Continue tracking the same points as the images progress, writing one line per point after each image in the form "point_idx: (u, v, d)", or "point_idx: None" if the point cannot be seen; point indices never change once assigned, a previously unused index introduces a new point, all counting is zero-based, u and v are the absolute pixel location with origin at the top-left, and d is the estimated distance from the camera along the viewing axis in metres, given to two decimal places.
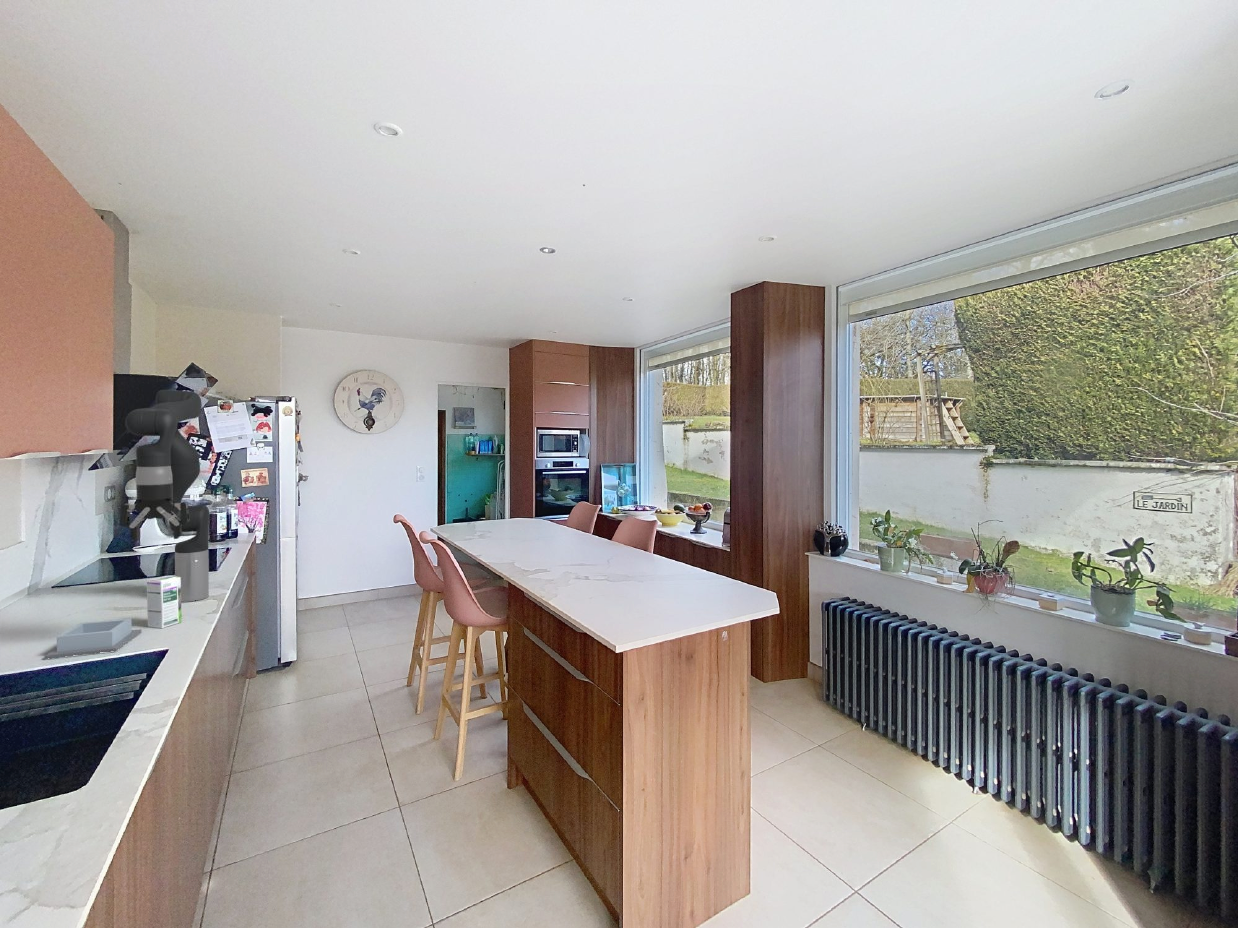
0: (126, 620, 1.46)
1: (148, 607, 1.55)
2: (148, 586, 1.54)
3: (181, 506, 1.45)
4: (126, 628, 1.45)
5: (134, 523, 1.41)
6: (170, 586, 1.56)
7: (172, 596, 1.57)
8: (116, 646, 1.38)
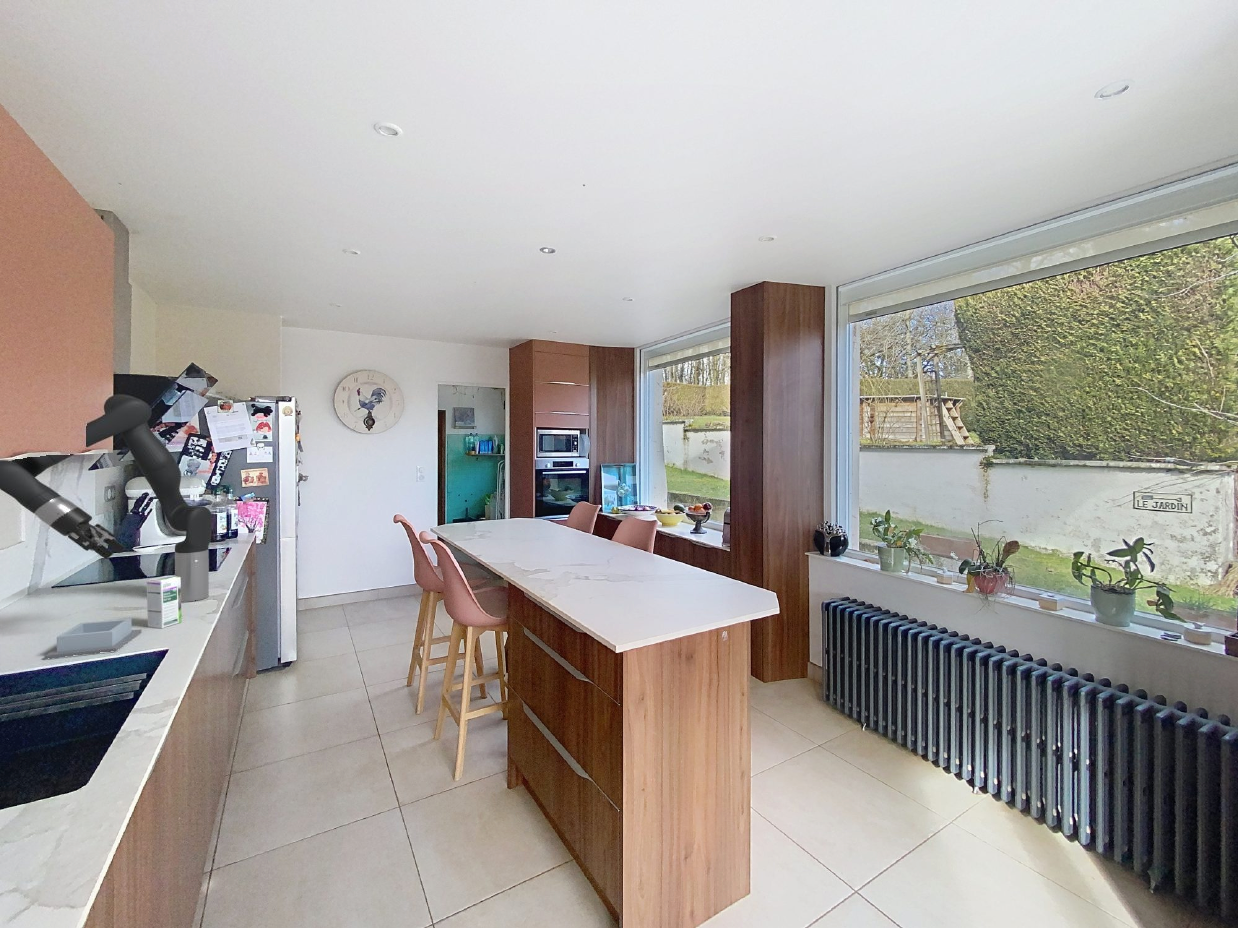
0: (126, 620, 1.46)
1: (148, 607, 1.55)
2: (148, 586, 1.54)
3: None
4: (126, 628, 1.45)
5: None
6: (170, 586, 1.56)
7: (172, 596, 1.57)
8: (116, 646, 1.38)
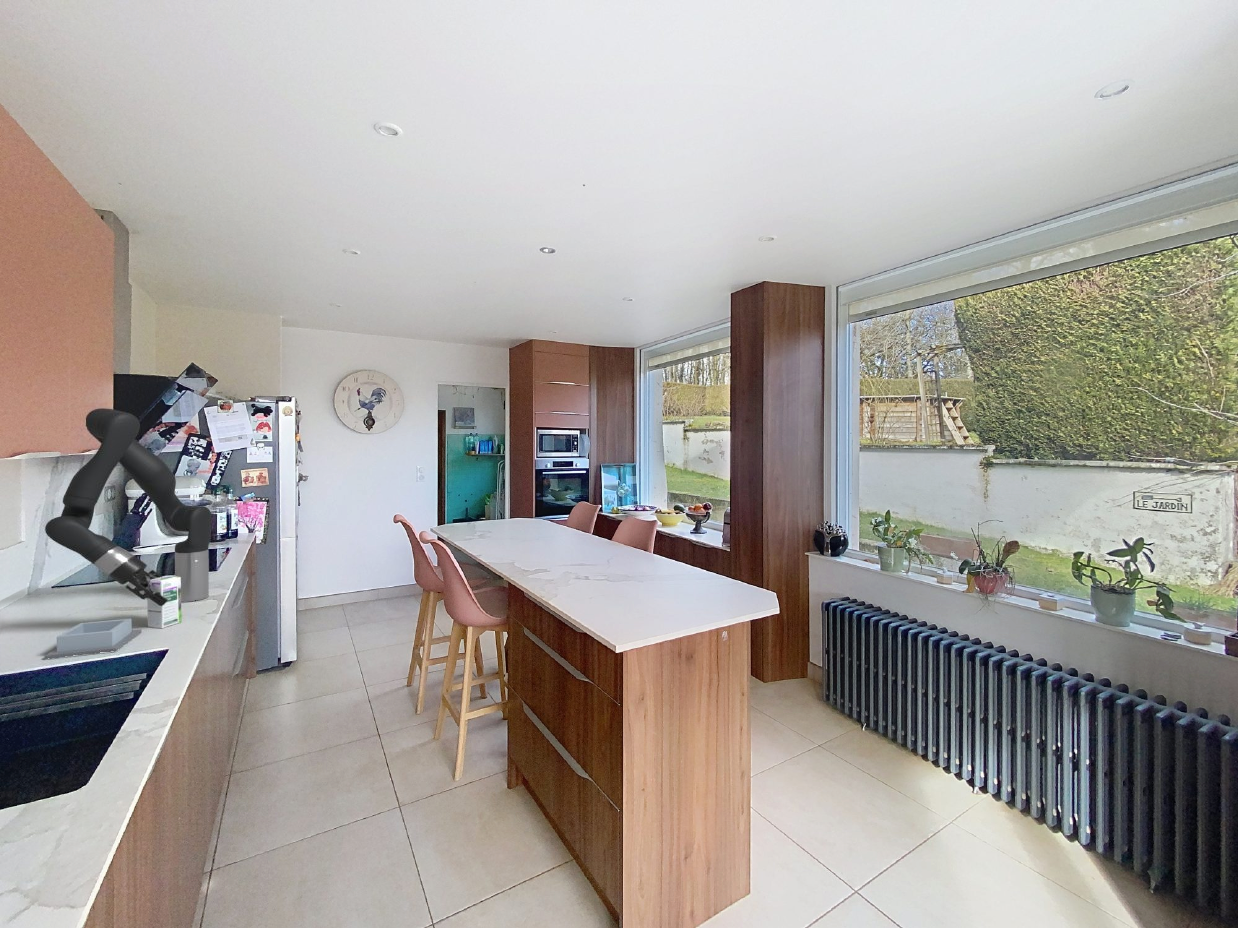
0: (126, 620, 1.46)
1: (148, 607, 1.55)
2: None
3: None
4: (126, 628, 1.45)
5: None
6: (171, 586, 1.56)
7: (172, 596, 1.57)
8: (116, 646, 1.38)
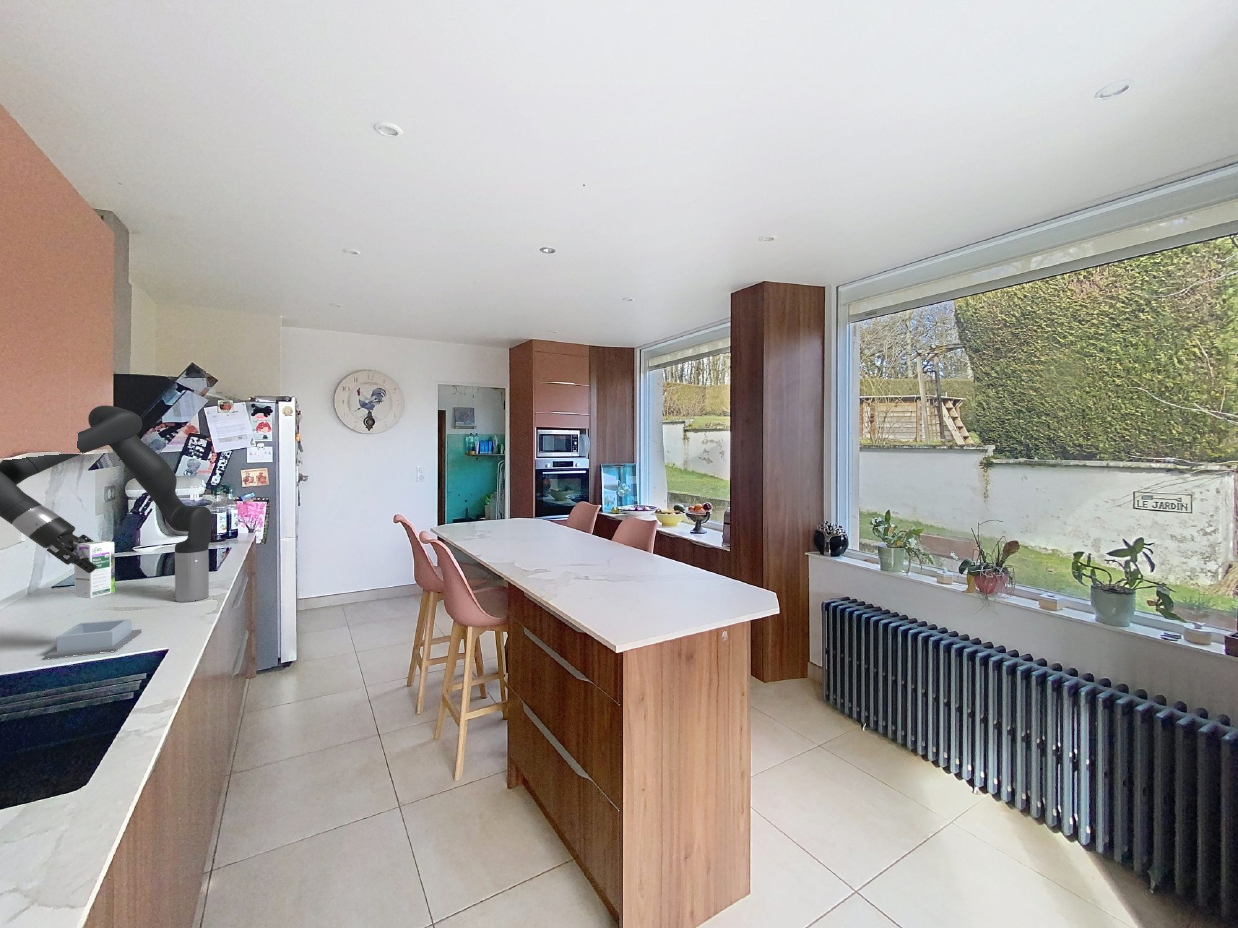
0: (126, 620, 1.46)
1: (75, 574, 1.38)
2: None
3: None
4: (126, 628, 1.45)
5: None
6: (102, 551, 1.39)
7: (104, 563, 1.40)
8: (116, 646, 1.38)
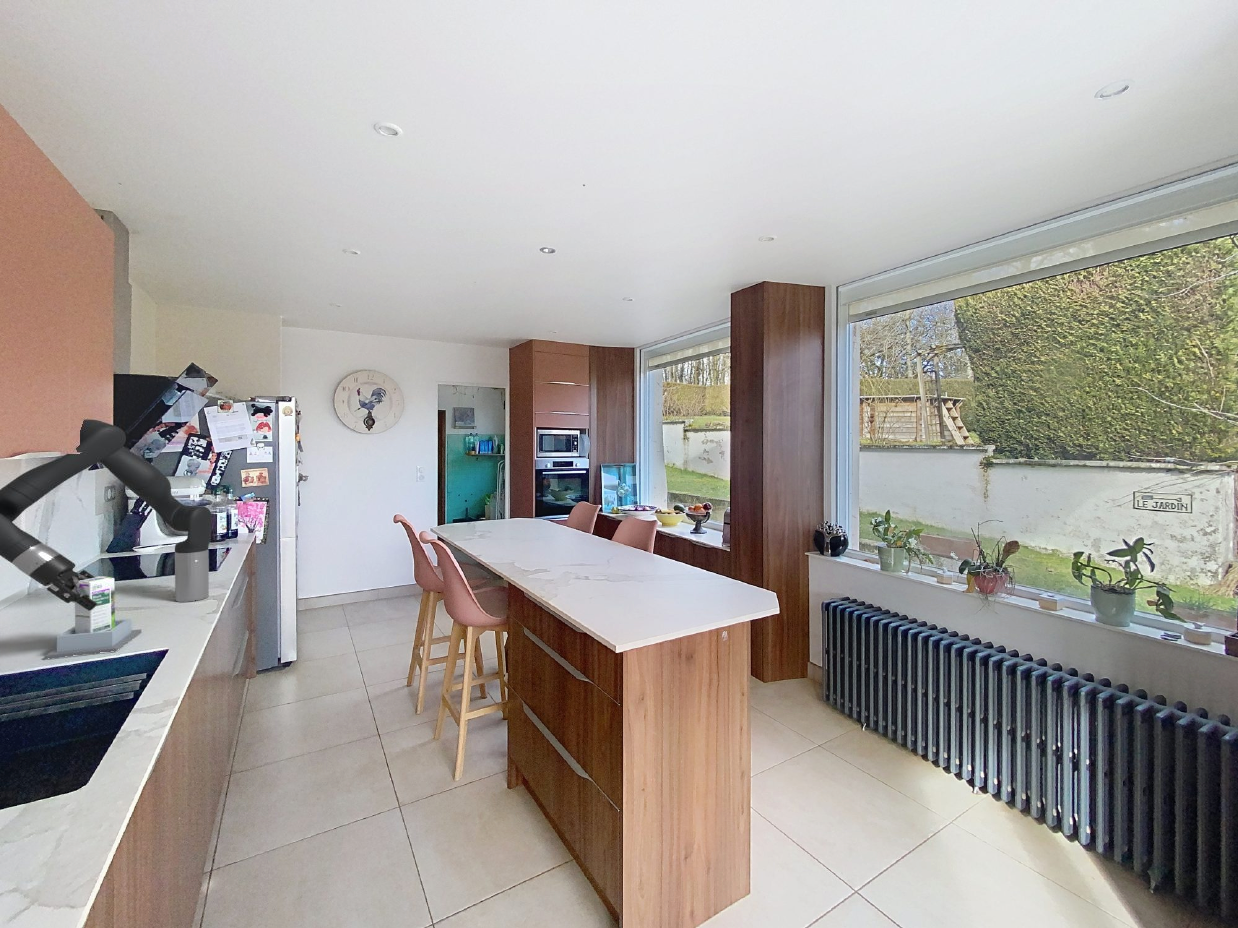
0: (126, 620, 1.46)
1: (76, 611, 1.38)
2: None
3: None
4: (126, 628, 1.45)
5: None
6: (102, 588, 1.39)
7: (104, 600, 1.40)
8: (116, 646, 1.38)
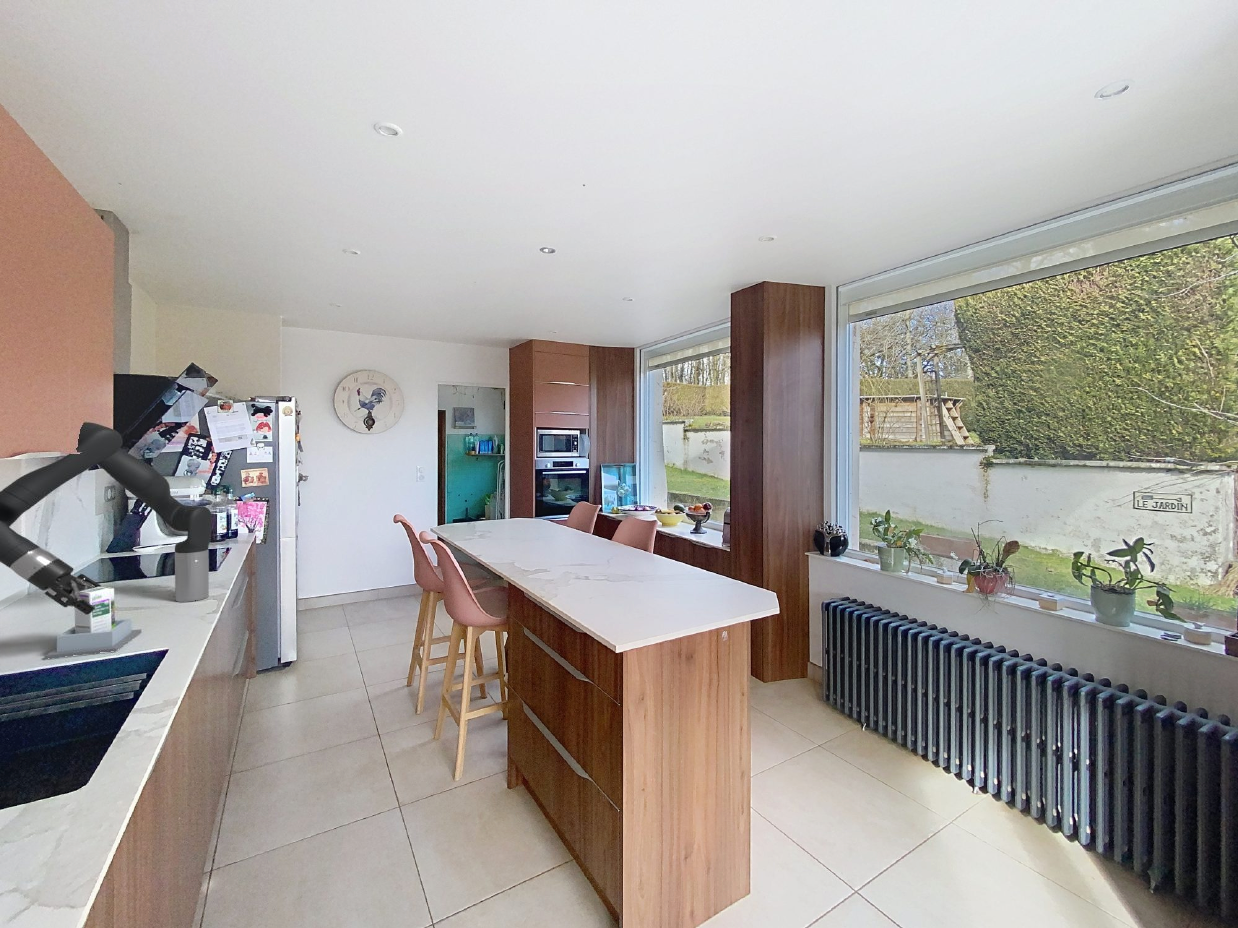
0: (126, 620, 1.46)
1: (76, 622, 1.38)
2: None
3: None
4: (126, 628, 1.45)
5: None
6: (101, 598, 1.40)
7: (104, 610, 1.40)
8: (116, 646, 1.38)
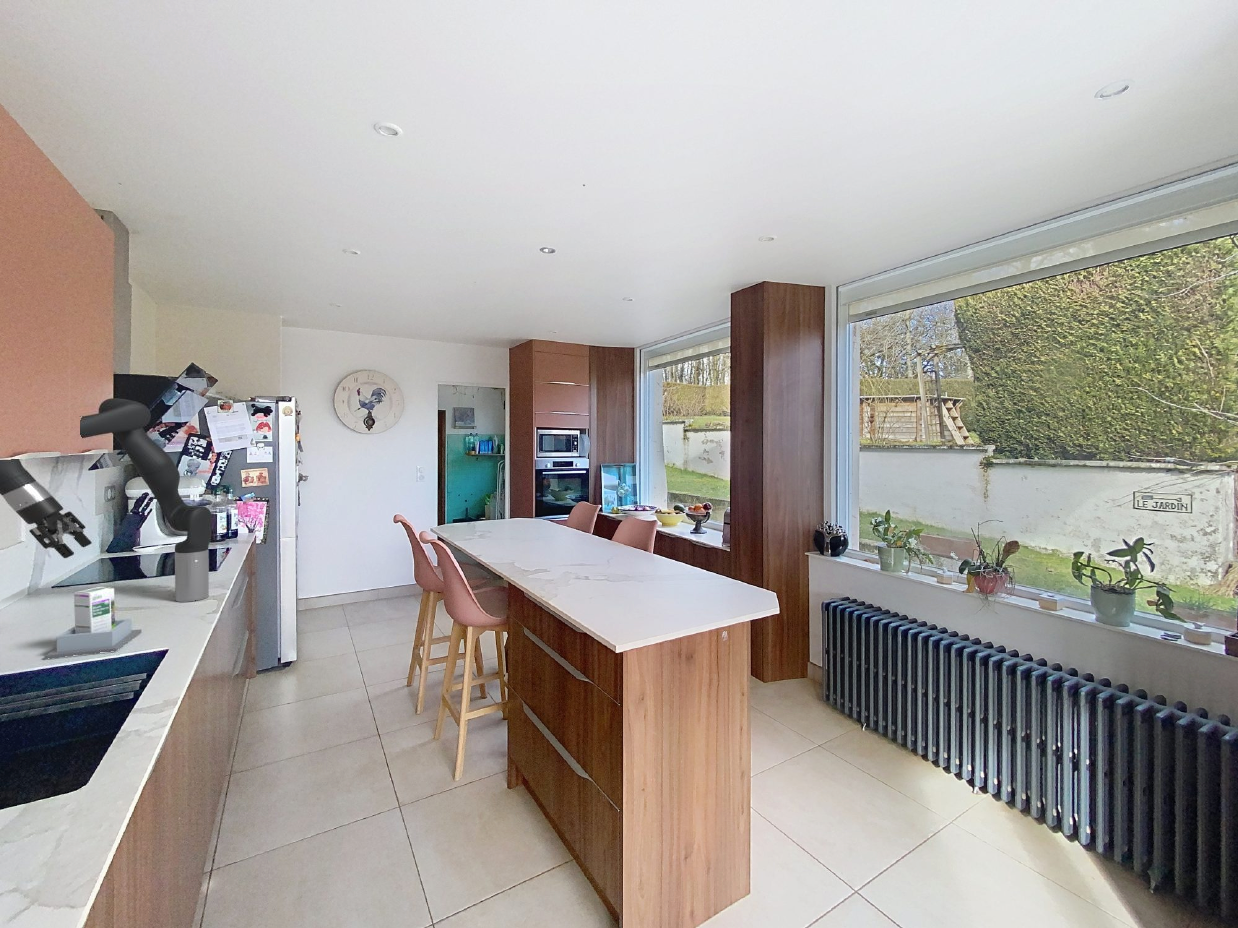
0: (126, 620, 1.46)
1: (76, 622, 1.38)
2: (75, 599, 1.38)
3: None
4: (126, 628, 1.45)
5: None
6: (102, 598, 1.40)
7: (104, 610, 1.40)
8: (116, 646, 1.38)
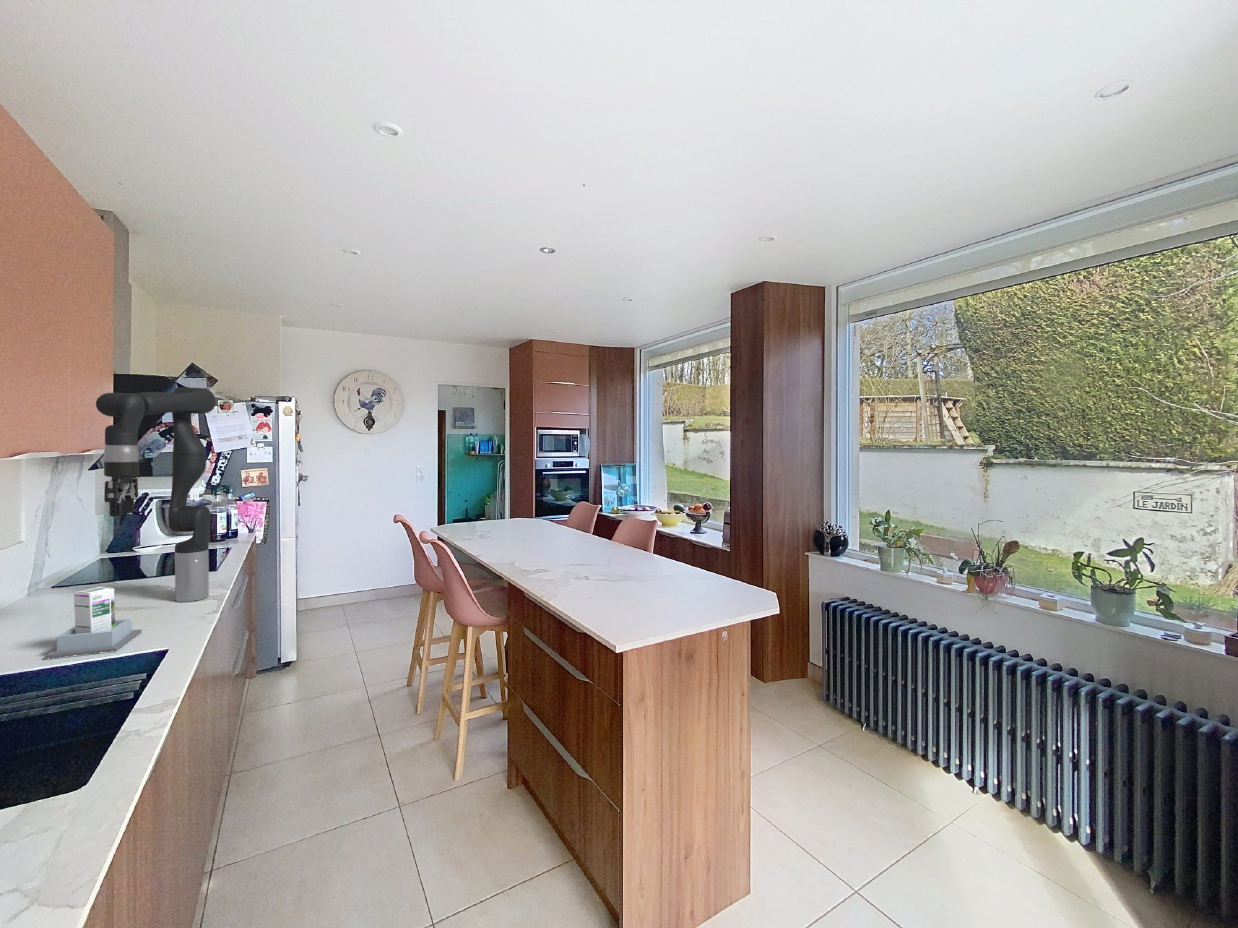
0: (126, 620, 1.46)
1: (76, 622, 1.38)
2: (76, 599, 1.38)
3: None
4: (126, 628, 1.45)
5: None
6: (102, 598, 1.40)
7: (104, 610, 1.40)
8: (116, 646, 1.38)
